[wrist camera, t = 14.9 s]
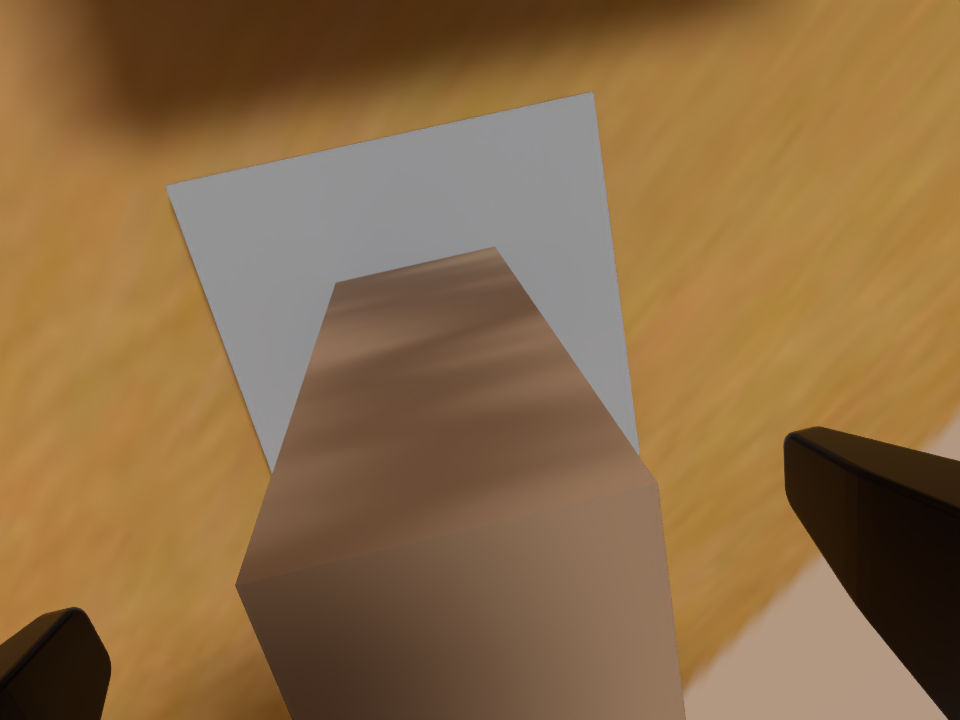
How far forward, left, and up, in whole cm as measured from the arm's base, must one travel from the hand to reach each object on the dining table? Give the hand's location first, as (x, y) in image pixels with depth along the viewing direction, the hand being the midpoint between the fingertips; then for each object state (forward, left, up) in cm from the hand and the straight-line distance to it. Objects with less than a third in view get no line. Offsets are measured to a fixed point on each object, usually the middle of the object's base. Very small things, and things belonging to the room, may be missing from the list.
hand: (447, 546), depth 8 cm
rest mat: (0, 0, -8) cm, 8 cm away
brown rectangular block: (0, 0, -8) cm, 8 cm away
